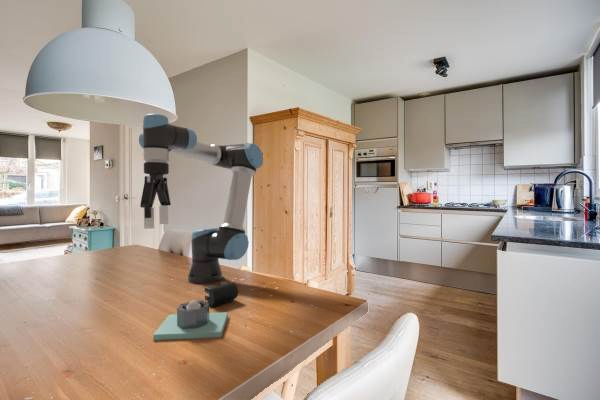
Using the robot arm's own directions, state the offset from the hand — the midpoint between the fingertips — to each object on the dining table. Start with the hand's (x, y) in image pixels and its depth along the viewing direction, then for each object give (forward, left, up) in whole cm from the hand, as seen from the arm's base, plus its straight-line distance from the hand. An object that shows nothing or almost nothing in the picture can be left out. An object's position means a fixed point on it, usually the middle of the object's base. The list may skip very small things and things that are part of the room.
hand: (157, 226), depth 104 cm
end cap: (-6, +20, -29) cm, 36 cm away
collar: (+14, +15, -27) cm, 34 cm away
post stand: (+14, +15, -29) cm, 35 cm away
